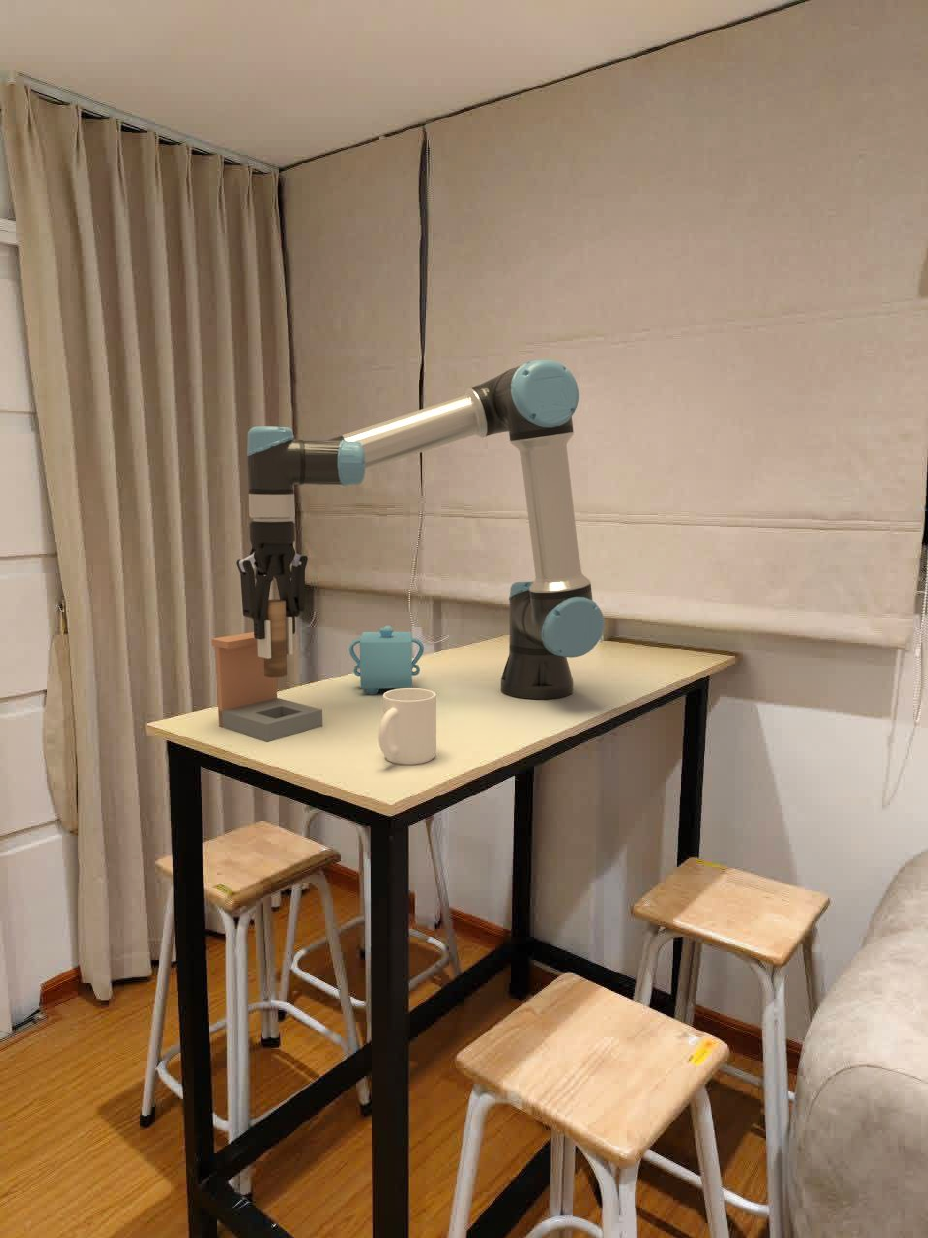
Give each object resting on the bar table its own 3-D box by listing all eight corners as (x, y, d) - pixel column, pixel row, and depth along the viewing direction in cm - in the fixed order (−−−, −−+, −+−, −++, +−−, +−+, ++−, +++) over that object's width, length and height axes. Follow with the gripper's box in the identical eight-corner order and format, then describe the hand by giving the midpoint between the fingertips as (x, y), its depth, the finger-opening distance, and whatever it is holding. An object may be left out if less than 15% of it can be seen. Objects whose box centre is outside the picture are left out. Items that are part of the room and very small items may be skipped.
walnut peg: (291, 674, 149) (290, 601, 147) (273, 678, 146) (271, 603, 144) (277, 671, 152) (276, 598, 150) (259, 674, 149) (257, 601, 147)
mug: (402, 776, 127) (401, 709, 125) (358, 766, 131) (357, 701, 129) (446, 754, 137) (445, 692, 135) (403, 746, 141) (403, 685, 139)
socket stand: (323, 725, 153) (321, 638, 150) (265, 742, 143) (262, 649, 140) (273, 711, 162) (270, 629, 159) (215, 725, 152) (211, 638, 150)
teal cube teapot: (424, 695, 174) (424, 633, 172) (347, 696, 173) (346, 633, 171) (422, 675, 192) (422, 618, 190) (353, 676, 191) (351, 619, 189)
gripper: (297, 517, 153) (300, 645, 157) (215, 520, 141) (220, 659, 144) (325, 519, 149) (327, 651, 152) (243, 522, 136) (247, 666, 140)
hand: (275, 654), depth 148 cm, fingers closed on walnut peg, 4 cm apart
